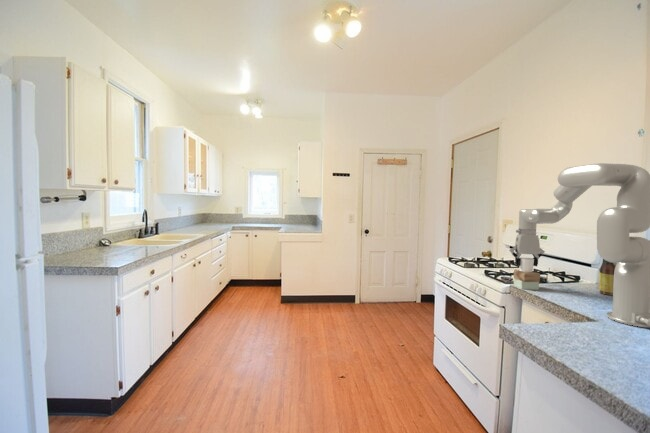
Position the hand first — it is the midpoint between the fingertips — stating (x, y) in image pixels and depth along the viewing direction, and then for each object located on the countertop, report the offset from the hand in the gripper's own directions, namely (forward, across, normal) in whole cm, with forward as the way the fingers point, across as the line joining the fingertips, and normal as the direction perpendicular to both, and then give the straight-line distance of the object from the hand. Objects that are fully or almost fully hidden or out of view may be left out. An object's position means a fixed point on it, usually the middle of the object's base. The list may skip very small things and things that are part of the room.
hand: (526, 265), depth 147 cm
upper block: (+8, 0, -1) cm, 8 cm away
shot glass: (+3, 0, 0) cm, 3 cm away
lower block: (+12, 0, 0) cm, 12 cm away
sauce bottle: (+12, +34, -5) cm, 36 cm away
